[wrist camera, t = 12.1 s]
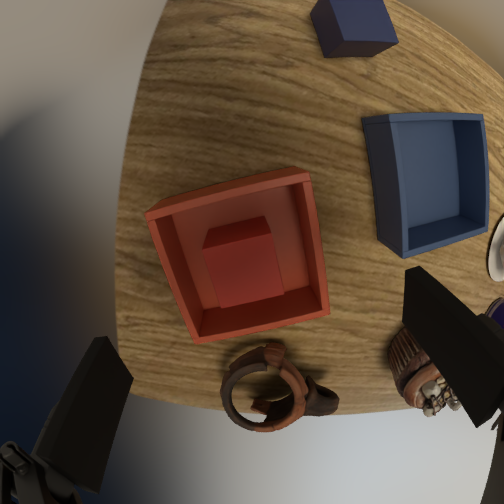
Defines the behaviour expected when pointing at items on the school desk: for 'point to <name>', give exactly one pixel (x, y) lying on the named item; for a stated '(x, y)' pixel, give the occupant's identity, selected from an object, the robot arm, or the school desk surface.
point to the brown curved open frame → (282, 411)
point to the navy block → (353, 27)
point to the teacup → (497, 254)
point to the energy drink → (497, 312)
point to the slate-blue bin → (428, 178)
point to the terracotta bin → (230, 211)
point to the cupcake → (417, 375)
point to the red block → (242, 262)
